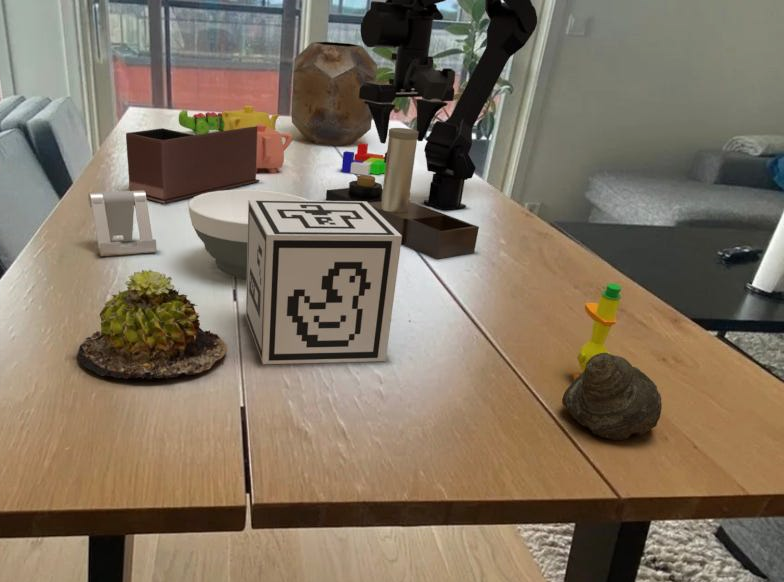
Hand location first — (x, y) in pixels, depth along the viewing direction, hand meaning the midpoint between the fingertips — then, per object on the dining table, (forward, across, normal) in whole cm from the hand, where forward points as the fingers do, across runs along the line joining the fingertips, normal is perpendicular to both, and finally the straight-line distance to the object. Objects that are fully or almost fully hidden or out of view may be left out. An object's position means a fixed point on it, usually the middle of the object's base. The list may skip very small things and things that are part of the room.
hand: (401, 142), depth 146 cm
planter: (+13, +33, +67) cm, 76 cm away
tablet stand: (+13, -58, -2) cm, 60 cm away
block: (+13, -51, -45) cm, 69 cm away
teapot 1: (+13, +4, +62) cm, 63 cm away
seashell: (+13, -34, -79) cm, 87 cm away
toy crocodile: (+13, +6, +85) cm, 86 cm away
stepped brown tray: (+13, -8, -16) cm, 23 cm away
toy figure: (+13, -29, -70) cm, 77 cm away
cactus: (+13, -71, -41) cm, 83 cm away
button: (+9, -2, +7) cm, 12 cm away
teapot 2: (+13, -5, +42) cm, 44 cm away
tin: (+8, -11, -12) cm, 19 cm away
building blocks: (+13, +22, +33) cm, 42 cm away
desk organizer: (+13, -28, +30) cm, 43 cm away
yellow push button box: (+13, -2, +7) cm, 15 cm away
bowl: (+13, -44, -19) cm, 50 cm away
